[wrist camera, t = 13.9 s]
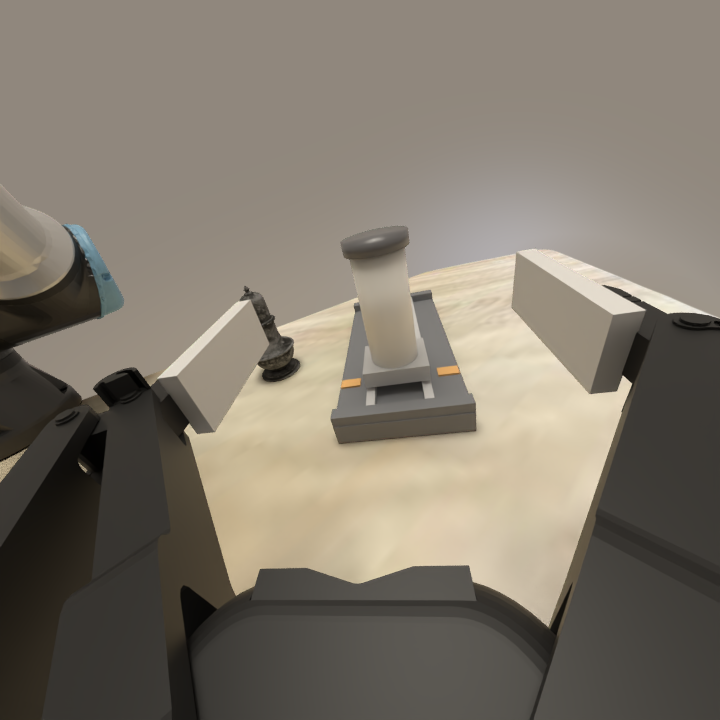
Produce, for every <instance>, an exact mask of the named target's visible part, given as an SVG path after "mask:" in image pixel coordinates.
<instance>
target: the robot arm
mask: <svg viewBox="0 0 720 720" xmlns="http://www.w3.org/2000/svg"><path fill="white" fill-rule="evenodd" d="M123 304H124V298H123V296H122V294H121V292H120V290H119V288H118V287H117V285H116V283H115V281H114V279H113V278H112V276H111V275H110V272H109V270H108V269H107V267H106V265H105V263H104V261H103V260H102V258H101V256H100V254H99V253H98V251H97V249H96V247H95V246H94V244H93V242H92V240H91V239H90V237H89V235H88V234H87V233H86V231H85V229H84V228H83V227H81V226H79V225H68V224H66V225H60V224H59V223H58V222H57V221H56V220H55V219H53V218H52V217H50V216H49V215H47V214H45V213H43V212H41V211H38V210H36V209H33V208H29V207H26V206H22V205H21V204H20V203H19V202H18V201H17V200H16V199H15V198H14V197H13V196H12V195H11V194H10V193H9V192H8V191H7V190H6V189H5V188H4V187H3V186H2V185H1V184H0V460H1V459H4V458H6V457H8V456H10V455H12V454H14V453H16V452H17V451H19V450H21V449H23V448H25V447H26V446H28V445H30V444H31V445H30V446H29V447H28V449H27V450H26V451H25V452H24V454H23V455H22V456H21V458H20V459H19V460H18V461H17V463H16V464H15V465H14V466H13V468H12V469H11V470H10V471H9V473H8V474H7V475H6V476H5V478H4V479H3V480H2V481H1V483H0V720H720V319H718V318H715V317H712V316H709V315H703V314H697V313H670V314H667V313H665V312H663V311H661V310H659V309H657V308H655V307H653V306H651V305H649V304H647V303H646V302H644V301H642V302H641V300H640V299H638V298H636V297H634V296H631V295H630V294H628V293H627V292H625V291H623V290H621V289H618V288H614V287H610V286H606V285H600V284H598V283H596V282H594V281H593V280H591V279H589V278H587V277H585V276H584V275H582V274H580V273H578V272H576V271H574V270H573V269H571V268H569V267H567V266H565V265H564V264H562V263H560V262H558V261H556V260H555V259H553V258H551V257H549V256H547V255H546V254H544V253H542V252H540V251H538V250H536V249H530V250H523V251H518V252H517V253H516V263H515V274H514V286H513V297H512V309H513V310H514V311H515V312H516V313H517V314H518V315H519V316H520V318H521V319H522V320H523V321H524V322H525V323H526V324H527V325H528V326H529V328H530V329H531V330H532V331H533V332H534V333H535V334H536V335H537V336H538V338H539V339H540V340H541V341H542V342H543V343H544V344H545V345H546V346H547V347H548V349H549V350H550V351H551V352H552V353H553V354H554V355H555V356H556V357H557V359H558V360H559V361H560V362H561V363H562V364H563V365H564V366H565V367H566V369H567V370H568V371H569V372H570V373H571V374H572V375H573V376H574V377H575V379H576V380H577V381H578V382H579V383H580V384H581V385H582V386H583V387H584V388H585V390H586V391H587V392H588V393H589V394H595V393H605V392H615V391H617V389H618V387H619V384H620V381H621V378H622V376H624V377H626V378H627V379H628V380H629V381H630V382H631V383H632V386H631V389H630V391H629V394H628V396H627V399H626V401H625V404H624V406H623V409H622V411H621V412H622V414H621V417H620V420H619V423H618V426H617V429H616V432H615V435H614V438H613V441H612V444H611V447H610V450H609V453H608V456H607V459H606V462H605V465H604V468H603V471H602V474H601V477H600V480H599V483H598V486H597V489H596V492H595V495H594V497H593V500H592V503H591V506H590V509H589V512H588V515H587V518H586V521H585V524H584V527H583V530H582V533H581V536H580V539H579V542H578V545H577V548H576V551H575V554H574V557H573V560H572V563H571V566H570V569H569V572H568V575H567V578H566V580H565V583H564V586H563V589H562V592H561V594H560V597H559V600H558V602H557V605H556V608H555V610H554V613H553V616H552V619H551V622H550V625H549V627H547V626H546V625H545V624H544V623H542V622H541V621H540V620H539V619H538V618H537V617H536V616H534V615H533V614H532V613H531V612H529V611H528V610H527V609H525V608H524V607H523V606H521V605H520V604H518V603H517V602H516V601H514V600H512V599H510V598H509V597H507V596H505V595H503V594H502V593H500V592H498V591H496V590H493V589H491V588H489V587H486V586H484V585H481V584H477V583H474V582H472V577H471V573H470V568H469V566H413V567H410V568H407V569H404V570H401V571H398V572H395V573H392V574H389V575H385V576H382V577H379V578H376V579H373V580H370V581H367V582H364V583H360V584H354V583H350V582H347V581H344V580H341V579H338V578H335V577H332V576H329V575H326V574H323V573H320V572H317V571H314V570H311V569H308V568H287V569H260V571H259V574H258V578H257V581H256V584H255V587H252V588H250V589H248V590H246V591H244V592H242V593H240V594H239V595H237V596H236V595H235V593H234V591H233V589H232V587H231V584H230V581H229V577H228V574H227V570H226V567H225V563H224V559H223V556H222V552H221V549H220V545H219V542H218V538H217V535H216V531H215V528H214V524H213V521H212V517H211V514H210V510H209V507H208V503H207V500H206V496H205V492H204V489H203V485H202V482H201V478H200V475H199V471H198V468H197V464H196V461H195V457H194V454H193V450H192V447H191V443H190V440H189V437H188V436H187V434H186V433H185V432H184V429H185V428H186V427H187V425H188V424H189V423H190V425H191V426H192V428H193V429H194V430H195V432H196V433H197V434H201V433H211V432H215V431H216V429H217V428H218V426H219V425H220V423H221V421H222V420H223V418H224V416H225V415H226V413H227V412H228V410H229V408H230V407H231V405H232V404H233V402H234V400H235V399H236V397H237V396H238V394H239V392H240V391H241V389H242V388H243V386H244V384H245V383H246V381H247V379H248V378H249V376H250V375H251V373H252V371H253V370H254V368H255V367H256V365H257V363H258V362H259V360H260V359H261V357H262V355H263V354H264V352H265V351H266V349H267V347H268V346H269V342H268V340H267V337H266V335H265V333H264V330H263V328H262V326H261V323H260V321H259V319H258V316H257V314H256V312H255V309H254V307H253V305H252V303H251V300H245V301H240V302H236V303H235V305H233V306H232V307H231V308H230V309H229V310H228V311H227V312H226V313H225V314H224V315H223V316H222V317H221V318H220V319H219V320H218V321H217V322H215V323H214V324H213V326H211V327H210V329H208V330H207V331H206V332H205V333H204V334H203V335H202V336H201V337H200V338H199V339H198V340H197V341H196V342H195V343H194V344H193V345H191V346H190V347H189V348H188V349H187V350H186V351H185V352H184V353H183V354H182V355H181V356H180V357H179V358H178V359H177V360H176V361H175V362H174V363H173V364H172V365H170V366H169V367H168V368H167V369H166V370H165V371H164V372H163V373H162V374H161V375H160V376H159V377H158V378H157V381H156V382H155V383H154V384H153V385H152V386H151V387H150V386H149V384H148V383H147V382H146V381H145V379H144V378H143V377H142V375H141V374H140V373H139V371H138V370H137V369H136V368H127V369H123V370H120V371H117V372H115V373H113V374H111V375H109V376H107V377H105V378H104V379H102V380H101V381H99V382H98V383H97V384H96V385H95V387H94V388H93V389H94V391H95V392H96V393H97V394H98V395H99V396H100V397H101V398H102V399H103V401H104V402H105V403H106V404H107V405H108V406H109V407H110V408H109V411H106V412H103V413H100V414H97V413H96V412H95V411H94V410H93V409H92V408H91V407H90V406H89V405H81V406H79V405H80V403H81V400H82V399H81V396H80V395H79V394H78V393H77V392H76V391H75V390H74V389H73V388H72V387H71V386H70V385H68V384H66V383H65V382H63V381H61V380H59V379H57V378H55V377H53V376H51V375H50V374H48V373H46V372H44V371H42V370H40V369H38V368H36V367H34V366H33V365H31V364H29V363H28V362H26V361H25V360H24V359H23V358H22V357H21V356H20V355H19V354H18V353H17V352H16V351H15V350H14V349H13V347H16V346H19V345H22V344H24V343H27V342H30V341H33V340H36V339H38V338H41V337H44V336H47V335H50V334H53V333H56V332H59V331H61V330H64V329H67V328H70V327H73V326H76V325H79V324H82V323H85V322H87V321H90V320H93V319H101V318H103V317H104V316H105V315H107V314H109V313H112V312H114V311H117V310H119V309H120V308H122V306H123ZM78 462H79V463H80V464H81V465H82V466H84V467H85V468H86V469H87V472H86V473H85V472H84V471H83V470H82V469H81V467H80V466H79V463H78Z"/></svg>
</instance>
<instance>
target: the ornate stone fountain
mask: <svg viewBox="0 0 720 720" xmlns="http://www.w3.org/2000/svg"><path fill="white" fill-rule="evenodd" d="M244 291H245V292H246V293H245V294H244V296H242V297H241V299H240V301H245V300H251V303H252V305H253V307H254V309H255V312H256V314H257V316H258V319H259V321H260V323H261V326H262V328H263V330H264V333H265V335H266V337H267V340H268V342H269V346H268V347H267V349H266V351H265V352H264V354H263V355H262V357H261V359H260V360H259V362H258V363H257V364H258V365H259V366H260V367H261V368H264V369H265V370H264V371H263V373H262V377H263V379H264V380H266V381H269V382H276V381H280V380H283V379H286V378H288V377H290V376H291V375H293V374H294V373H295V372H296V371H297V370H298V369H299V367H300V362H299V361H298V360H297V359H294V358H292V357H293V353H294V348H293V344H294V341H293V339H292V338H290V337H286V336H282V337H281V335H280V334H279V332H278V331H277V328H276V326H275V323H274V319H275V317H274V316H273V315H270V313H269V310H268V308H267V306H266V303H265V300H264V298H263V297H262V295H261V294H259V293H256V292H250V291H249V288H248V287H246V286H245V287H244ZM240 301H239V302H240Z"/></svg>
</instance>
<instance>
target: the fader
mask: <svg viewBox="0 0 720 720" xmlns="http://www.w3.org/2000/svg"><path fill="white" fill-rule="evenodd" d="M408 244H409V236H408V228H407V227H405V226H392V227H384V228H378V229H373V230H369V231H365V232H362V233H359V234H355V235H353V236H350V237H348V238H346V239H344V240H342V241H341V247H342V252H343V256H344V258H346V259H349V260H350V263H351V268H352V273H353V277H354V282H355V286H356V290H357V295H358V300H359V304H360V308H361V313H362V317H363V322H364V326H365V331H366V335H367V340H368V344H369V346H365V354H364V364H363V378H364V382H365V386H366V388H371V387H379V386H387V385H395V384H403V383H411V382H419V381H427V380H431V375H430V365H429V361H428V357H427V353H426V349H425V344H424V340H423V338H418V339H416V336H415V328H414V320H413V311H412V303H411V295H410V287H409V279H408V272H407V263H406V256H405V247H406V246H407V245H408Z"/></svg>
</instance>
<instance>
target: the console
mask: <svg viewBox="0 0 720 720" xmlns="http://www.w3.org/2000/svg"><path fill="white" fill-rule="evenodd" d="M410 295H411V303H412V311H413V320H414V328H415V336H416V339H418V338H423V340H424V344H425V349H426V353H427V357H428V361H429V365H430V375H431V380H427V381H419V382H411V383H403V384H395V385H387V386H379V387H371V388H366V386H365V382H364V378H363V364H364V354H365V346H369V344H368V340H367V335H366V331H365V326H364V322H363V317H362V313H361V308H360V304H359V303H354V309H355V316H354V321H353V326H352V332H351V337H350V342H349V347H348V353H347V358H346V363H345V369H344V374H343V379H342V385H341V390H340V395H339V400H338V406H337V409H332V414H331V422H332V425H333V429H334V431H335V434H336V437H337V440H338V442H339V443H348V442H359V441H370V440H380V439H391V438H401V437H412V436H422V435H433V434H443V433H454V432H465V431H475V430H476V403H475V400H474V398H473V395H472V393H471V394H468V391H467V388H466V386H465V383H464V381H463V378H462V375H461V373H460V370H459V367H458V365H457V362H456V360H455V357H454V354H453V352H452V349H451V347H450V344H449V341H448V339H447V336H446V333H445V331H444V328H443V326H442V323H441V320H440V318H439V315H438V313H437V310H436V307H435V305H434V302H433V300H432V292H431V290H427V291H421V292H415V293H410Z"/></svg>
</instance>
